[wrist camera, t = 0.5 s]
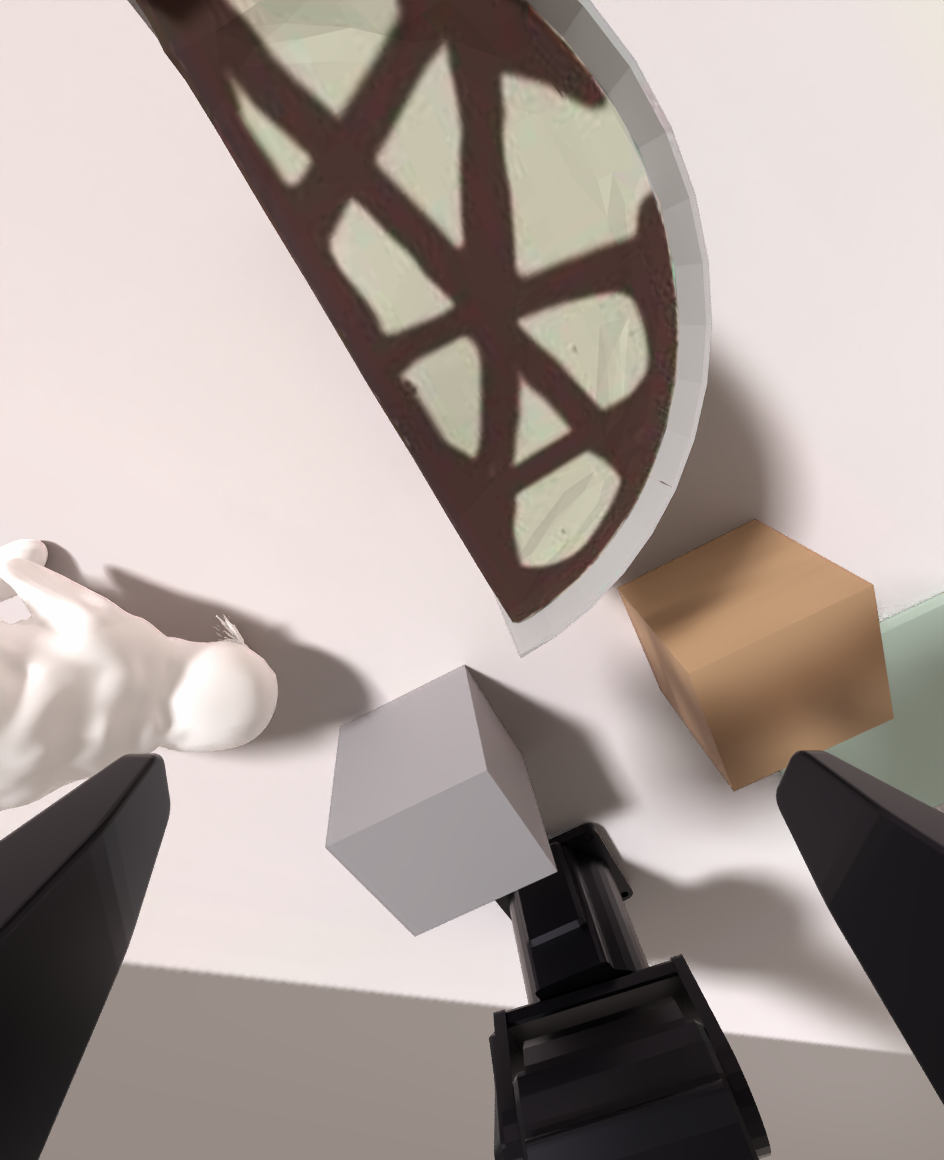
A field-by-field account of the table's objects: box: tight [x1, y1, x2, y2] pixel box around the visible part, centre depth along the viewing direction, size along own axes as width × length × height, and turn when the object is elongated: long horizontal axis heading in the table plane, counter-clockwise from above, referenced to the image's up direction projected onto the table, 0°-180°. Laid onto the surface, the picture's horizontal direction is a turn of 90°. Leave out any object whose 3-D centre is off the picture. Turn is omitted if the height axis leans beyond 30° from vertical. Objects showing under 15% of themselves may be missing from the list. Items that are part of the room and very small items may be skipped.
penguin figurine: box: [0, 539, 278, 811], centre depth 17 cm, size 6×8×12 cm
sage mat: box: [780, 592, 944, 808], centre depth 27 cm, size 14×14×1 cm
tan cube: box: [617, 519, 894, 791], centre depth 21 cm, size 6×6×6 cm
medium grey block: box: [325, 665, 557, 936], centre depth 22 cm, size 6×6×6 cm
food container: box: [128, 0, 712, 658], centre depth 12 cm, size 12×6×10 cm, turn 29°
